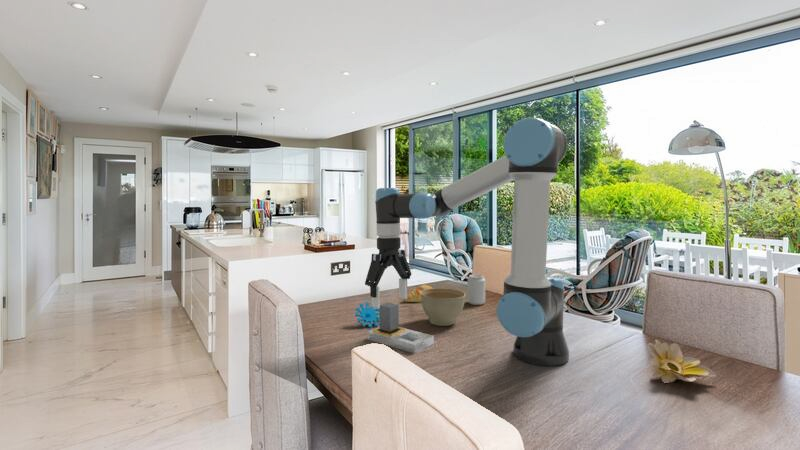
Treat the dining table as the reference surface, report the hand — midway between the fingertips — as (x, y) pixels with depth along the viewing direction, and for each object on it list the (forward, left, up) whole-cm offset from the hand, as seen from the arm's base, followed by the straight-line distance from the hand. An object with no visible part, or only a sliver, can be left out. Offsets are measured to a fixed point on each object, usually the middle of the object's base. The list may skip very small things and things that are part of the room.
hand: (390, 302), depth 132 cm
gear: (+15, -7, -12) cm, 20 cm away
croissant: (+21, -47, -12) cm, 53 cm away
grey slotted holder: (-4, 0, -12) cm, 12 cm away
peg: (0, 0, -12) cm, 12 cm away
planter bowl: (-4, -25, -12) cm, 28 cm away
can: (-1, -56, -12) cm, 57 cm away
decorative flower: (-75, -21, -12) cm, 79 cm away
